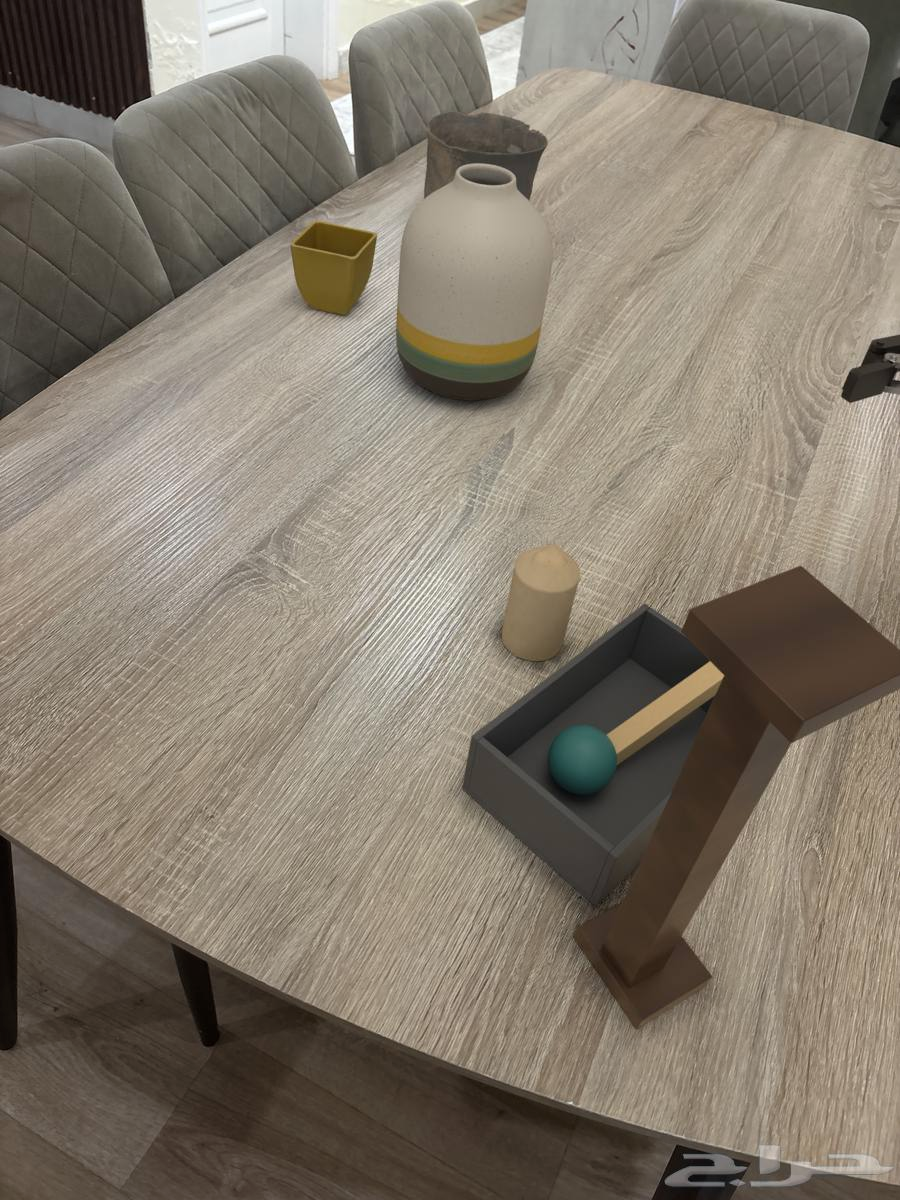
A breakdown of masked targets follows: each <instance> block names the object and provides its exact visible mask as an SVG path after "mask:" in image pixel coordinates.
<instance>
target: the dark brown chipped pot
mask: <svg viewBox="0 0 900 1200" xmlns="http://www.w3.org/2000/svg"><path fill="white" fill-rule="evenodd" d="M530 128H531V124H526V123H525V121H522V120H520V119H516V118H513V117H508V116H505V115H503V114H495V113H491V112H479V113H474V114H469V113H462V112H461V111H448V112H444V113H440V114H437V115H435V116H433V117H431V118H430V120H429V121H428V123H427V126H426V134H427V145H426V146H427V147H426V168H425V169H426V170H425V179H424V185H423V186H424V187H423V188H424V189H423V199H425V198H426V197H427V196H429V195H430V194H431V193H433V192H435V191H436V190H438V189H440V188H442V187H444V186H446V185H447V184H449V183H451V182H452V181H453V179H454V177H455V173H456V171H457V169H458V168H459V167H461V166H463V165H467V164H476V163H480V164H490V165H495V166H499V167H502V168H505V169H507V170H509V171H511V172H512V173H513V174H514V175H515V177H516V186H517V190H518V191H519V192H520V193H521V194H522V195H523V196H524V197H526V198H527V199H528V200H529V201H530V200H531V196H532V193H533V186H534V181H535V177H536V175H537V172H538V168H539V163H540V162H541V158H542V156H543V154H544V152H545V150H546V149H547V147H548V145H549V141H548V139H547V137H546V135H544V134H543V133H542V132H540V130H536V129H534V128H533V129H530ZM530 202H531V201H530Z"/></svg>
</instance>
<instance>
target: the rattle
mask: <svg viewBox="0 0 900 1200" xmlns="http://www.w3.org/2000/svg"><path fill="white" fill-rule="evenodd" d="M723 677H724V675H723V674H722V673H721V672H720V671H719V670H718V669H717V668H716V667H715V666H714V665H713V664H712V663H711V662H708V663H707V664H706V665H704V666H703V667H701V668H700V669H698V670H697V671H696V672H694V673H693V674H691V675H690V676H689V677H687V678H686V679H684V680H683V681H682V682H680V683H679V684H677V685H676V686H675V687H673V688H672V689H670V690H669V691H667V692H666V693H665V694H663V695H662V696H660V697H659V698H658V699H656V700H655V701H653V702H652V703H651V704H649V705H648V706H646V707H645V708H644V709H642V710H641V711H639V712H638V713H636V714H635V715H634V716H632V717H631V718H629V719H628V720H627V721H625V722H624V723H622V724H621V725H620V726H618V727H617V728H615V729H614V730H613V731H611V732H610V733H608V734H607V735H606V734H605V733H604V732H602V731H601V730H599V729H597V728H595V727H592V726H589V725H575V726H571V727H568V728H566V729H564V730H563V731H561V732H560V733H559V734H558V735H557V736H556V737H555V738H554V740H553V741H552V743H551V745H550V748H549V751H548V767H549V770H550V773H551V775H552V777H553V778H554V780H555V781H556V782H557V784H558V785H560V786H561V787H562V788H563V789H565V790H567V791H569V792H571V793H574V794H579V795H587V794H592V793H595V792H598V791H600V790H601V789H603V788H604V787H605V786H607V784H608V783H609V782H610V781H611V779H612V778H613V776H614V774H615V771H616V767H617V765H618V764H620V763H621V762H622V761H624V760H625V759H627V758H628V757H629V756H631V755H632V754H634V753H635V752H636V751H638V750H639V749H641V748H642V747H643V746H645V745H646V744H648V743H649V742H650V741H652V740H653V739H655V738H656V737H657V736H659V735H660V734H662V733H663V732H664V731H666V730H667V729H669V728H670V727H671V726H673V725H674V724H676V723H677V722H678V721H680V720H681V719H683V718H684V717H685V716H687V715H688V714H690V713H691V712H692V711H694V710H695V709H697V708H698V707H699V706H701V705H702V704H704V703H705V702H706V701H708V700H709V699H710V698H712V697H713V696H715V695H716V692H717V690H718V688H719V686H720V684H721V681H722V679H723Z"/></svg>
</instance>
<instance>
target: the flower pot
mask: <svg viewBox="0 0 900 1200" xmlns="http://www.w3.org/2000/svg"><path fill="white" fill-rule="evenodd" d="M377 240H378V233H377V232H373V231H370V230H364V229H359V228H354V227H350V226H345V225H340V224H336V223H331V222H326V221H321V220H314V221H313V222H312V223H310V224H309V225H308V226H307V227H306V228H304V229H303V231H302V232H301V233H299V235H298V236H296V237H295V238H294V240H292V241H291V242H290V245H289V247H290V253H291V261H292V266H293V267H292V269H293V273H294V280H295V283H296V286H297V289H298V291H299V293H300V295H301V296H302V298H303V300H304V301H305V303H306V304H307V305H308V306H309V308H311V309H314V310H319V311H324V312H328V313H333V314H338V315H342V316H345V315H347V314H348V313H349V312H350V310H351V309H352V308H353V307H354V305H355V304H357V302H358V301H359V299H360V298H361V296H362V294H363V292H364V291H365V289H366V287H367V285H368V282H369V280H370V277H371V275H372V270H373V267H374V266H373V265H374V259H375V253H376V246H377Z"/></svg>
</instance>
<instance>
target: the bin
mask: <svg viewBox="0 0 900 1200" xmlns="http://www.w3.org/2000/svg"><path fill="white" fill-rule="evenodd" d="M682 628H683V627H682V626H679V625H678V624H677V623H675V622H673V621H672V620H671V619H669V618H668V617H666V616H665V615H663V614H662V613H660V612H659V611H657V610H656V609H655V608H653V607H651V606H650V605H649V604H647V603H643V604H642V605H641V606H639V607H638V608H637V609H635V610H633V612H631V613H630V614H629V615H628V616H626V617H625V618H624V619H622V620H621V621H620V622H618V623H617V624H615V625H614V626H613V627H612V628H611V629H609V630H608V631H607V632H605V633H604V634H603V635H601V636H600V637H599V638H597V639H596V640H595V641H593V642H592V643H591V644H590V645H588V646H586V648H584V649H583V650H582V651H581V652H579V653H578V654H577V655H575V656H574V657H573V658H571V659H570V660H569V661H567V662H566V663H565V664H563V665H562V666H561V667H560V668H558V669H557V670H556V671H554V672H553V673H552V674H551V675H549V676H548V677H546V678H545V679H544V680H543V681H541V682H540V683H538V684H537V685H536V686H534V688H532V689H531V690H529V691H528V692H527V693H525V694H524V695H523V696H522V697H521V698H519V699H518V700H517V701H515V702H514V703H513V704H511V705H510V706H509V707H507V708H506V709H505V710H503V711H502V712H500V714H498V715H497V716H496V717H494V718H493V719H491V721H489V722H487V723H486V724H485V725H483V726H482V727H481V728H480V729H479V730H478V731H476V732H475V733H473V734H471V737H470V742H469V748H468V754H467V759H466V763H465V764H466V765H465V771H464V775H463V781H462V786H461V790H463V791H464V792H465V793H466V794H467V795H469V796H470V797H471V798H472V799H473V800H474V801H475V802H476V803H477V804H478V805H480V806H481V807H482V808H483V809H484V810H485V811H486V812H488V813H489V814H490V815H491V816H492V817H493V818H494V819H496V820H497V821H498V822H499V823H500V824H501V825H502V826H504V828H506V829H507V830H508V831H509V832H510V833H511V834H513V835H514V836H515V838H517V839H518V840H519V841H521V842H522V843H523V844H524V845H525V846H526V847H527V848H528V849H529V850H530V851H532V852H533V853H534V854H535V855H536V856H538V858H540V859H541V861H543V862H544V863H545V864H546V865H548V867H550V868H551V869H552V870H553V871H555V872H556V873H557V874H558V875H559V876H560V877H561V878H563V880H565V881H566V882H567V883H568V884H569V885H570V886H571V887H573V889H575V890H576V891H577V892H578V893H579V894H580V895H581V896H583V897H584V898H585V899H586V900H587V901H588V902H589V903H591V904H592V905H593V906H594V907H595V908H597V907H599V905H600V904H601V903H602V902H603V901H604V900H605V899H606V898H607V897H608V896H609V895H611V893H612V892H613V891H614V890H615V889H616V888H617V887H618V886H619V885H620V884H621V883H622V882H623V881H624V880H625V879H626V878H627V877H628V875H630V874H631V873H632V872H633V871H634V869H635V868H637V867H638V866H639V863H640V861H641V859H642V857H643V855H644V852H645V850H646V848H647V846H648V843H649V841H650V839H651V837H652V835H653V832H654V830H655V828H656V826H657V823H658V821H659V819H660V817H661V815H662V812H663V810H664V808H665V806H666V803H667V801H668V799H669V797H670V795H671V792H672V790H673V788H674V786H675V783H676V781H677V779H678V777H679V775H680V772H681V770H682V768H683V766H684V763H685V761H686V759H687V757H688V755H689V752H690V750H691V748H692V746H693V743H694V741H695V739H696V737H697V735H698V732H699V730H700V728H701V726H702V723H703V721H704V719H705V717H706V715H707V712H708V710H709V708H710V706H711V704H712V701H713V699H714V697H715V696H713V697H712V698H710V699H709V700H708V701H706V702H705V703H704V704H702V705H701V706H699V707H698V708H697V709H695V710H694V711H692V712H691V713H690V714H688V715H687V716H685V717H684V718H683V719H681V720H680V721H678V722H677V723H676V724H674V725H673V726H671V727H670V728H669V729H667V730H666V731H664V732H663V733H662V734H660V735H659V736H657V737H656V738H655V739H653V740H652V741H650V742H649V743H648V744H646V745H645V746H643V747H642V748H641V749H639V750H638V751H636V752H635V753H634V754H632V755H631V756H629V757H628V758H627V759H625V760H624V761H622V762H621V763H620V764H618V765H617V767H616V771H615V774H614V776H613V778H612V779H611V781H610V782H609V783H608V784H607V786H605V787H604V788H603V789H601V790H600V791H598V792H595V793H592V794H587V795H579V794H574V793H571V792H569V791H567V790H565V789H563V788H562V787H561V786H560V785H558V784H557V782H556V781H555V780H554V778H553V777H552V775H551V773H550V770H549V767H548V751H549V748H550V745H551V743H552V741H553V740H554V738H555V737H556V736H557V735H558V734H559V733H560V732H561V731H563V730H564V729H566V728H568V727H571V726H575V725H589V726H592V727H595V728H597V729H599V730H601V731H602V732H604V733H605V734H606V735H607V734H608V733H610V732H611V731H613V730H614V729H615V728H617V727H618V726H620V725H621V724H622V723H624V722H625V721H627V720H628V719H629V718H631V717H632V716H634V715H635V714H636V713H638V712H639V711H641V710H642V709H644V708H645V707H646V706H648V705H649V704H651V703H652V702H653V701H655V700H656V699H658V698H659V697H660V696H662V695H663V694H665V693H666V692H667V691H669V690H670V689H672V688H673V687H675V686H676V685H677V684H679V683H680V682H682V681H683V680H684V679H686V678H687V677H689V676H690V675H691V674H693V673H694V672H696V671H697V670H698V669H700V668H701V667H703V666H704V665H706V664H707V663H708V662H710V661H709V660H708V659H707V658H706V657H705V655H704V654H703V653H702V652H701V651H700V650H699V649H698V648H697V647H696V646H695V645H694V644H693V643H692V642H691V641H690V640H689V639H688V638H687V637H686V636H685V635H684V634H683V633H682V632H681V631H682Z"/></svg>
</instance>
